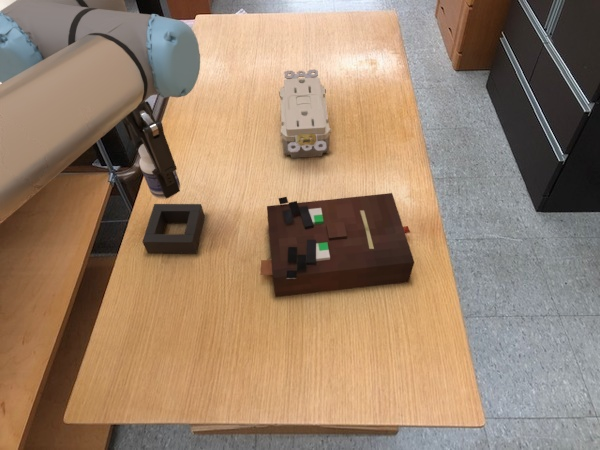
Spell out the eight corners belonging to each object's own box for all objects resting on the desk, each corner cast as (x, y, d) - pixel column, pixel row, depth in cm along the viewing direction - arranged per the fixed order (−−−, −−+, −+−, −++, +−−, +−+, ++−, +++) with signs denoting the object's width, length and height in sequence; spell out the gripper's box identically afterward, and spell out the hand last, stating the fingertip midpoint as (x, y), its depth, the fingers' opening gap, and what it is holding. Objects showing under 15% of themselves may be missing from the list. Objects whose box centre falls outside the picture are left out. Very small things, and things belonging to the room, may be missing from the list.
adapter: (196, 254, 90) (192, 242, 87) (148, 253, 91) (141, 241, 88) (205, 216, 96) (201, 203, 93) (159, 215, 97) (154, 203, 94)
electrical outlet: (323, 95, 121) (323, 63, 113) (332, 174, 105) (334, 144, 96) (280, 97, 121) (277, 66, 113) (283, 177, 105) (280, 147, 96)
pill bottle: (180, 198, 80) (165, 157, 72) (150, 201, 79) (132, 161, 72) (181, 176, 83) (167, 135, 75) (152, 180, 83) (135, 139, 75)
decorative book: (430, 263, 78) (258, 282, 77) (422, 286, 84) (263, 304, 83) (402, 184, 90) (254, 200, 89) (397, 209, 96) (258, 223, 95)
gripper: (174, 86, 59) (209, 202, 77) (114, 33, 68) (158, 149, 86) (122, 109, 56) (170, 225, 74) (67, 52, 65) (122, 167, 83)
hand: (163, 184), depth 80 cm, fingers closed on pill bottle, 5 cm apart
